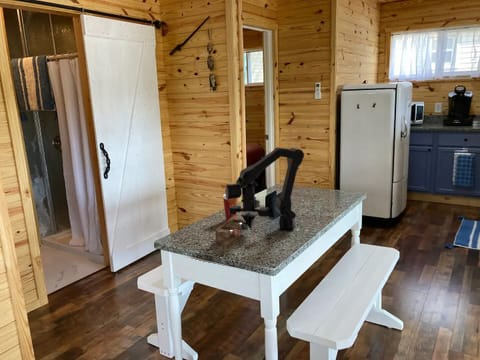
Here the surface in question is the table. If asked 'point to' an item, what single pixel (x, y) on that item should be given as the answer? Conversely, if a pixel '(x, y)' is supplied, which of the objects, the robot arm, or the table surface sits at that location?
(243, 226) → the charcoal knob
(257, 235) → the table surface
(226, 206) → the paper cup
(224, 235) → the mount
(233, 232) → the brick knob
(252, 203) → the robot arm
